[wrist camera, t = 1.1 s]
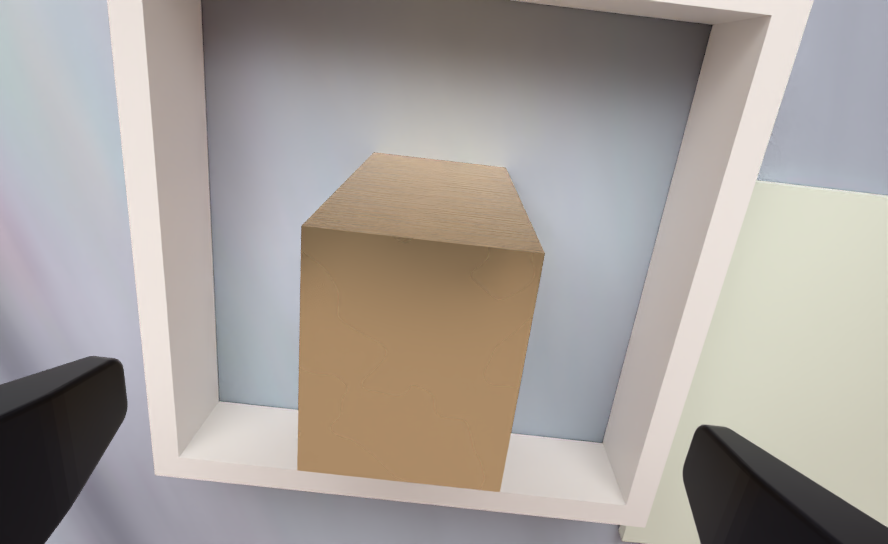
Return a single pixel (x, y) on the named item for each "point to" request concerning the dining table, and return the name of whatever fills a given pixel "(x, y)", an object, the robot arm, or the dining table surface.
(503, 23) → the dining table surface
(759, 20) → the white square frame
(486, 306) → the block
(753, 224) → the rubber pad
